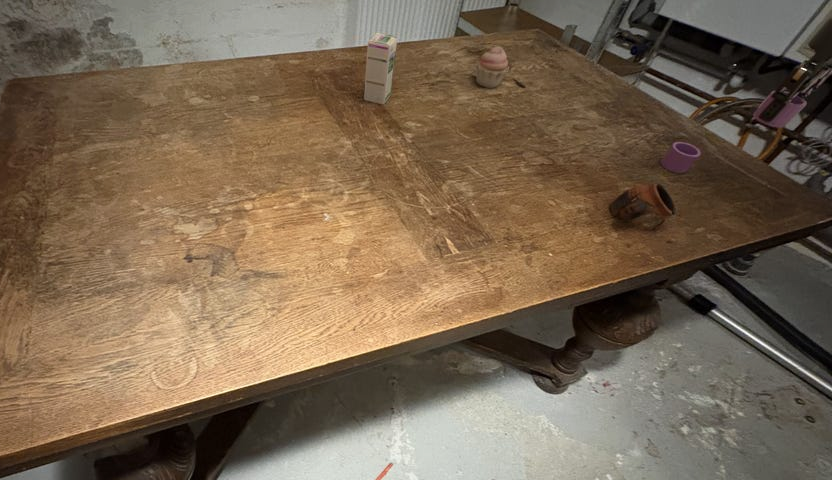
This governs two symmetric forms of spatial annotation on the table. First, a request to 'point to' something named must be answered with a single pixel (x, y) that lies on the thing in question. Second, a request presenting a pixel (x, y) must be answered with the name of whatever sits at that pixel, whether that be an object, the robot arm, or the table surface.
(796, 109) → the ramekin
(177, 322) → the table surface
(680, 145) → the ramekin
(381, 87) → the syrup box
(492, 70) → the cupcake
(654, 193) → the pottery mug
